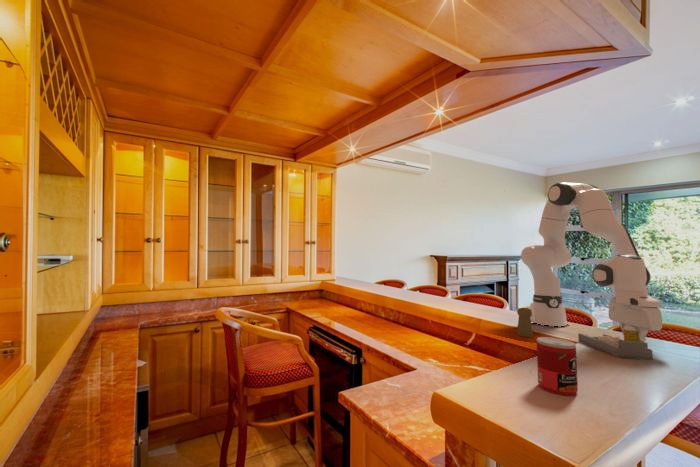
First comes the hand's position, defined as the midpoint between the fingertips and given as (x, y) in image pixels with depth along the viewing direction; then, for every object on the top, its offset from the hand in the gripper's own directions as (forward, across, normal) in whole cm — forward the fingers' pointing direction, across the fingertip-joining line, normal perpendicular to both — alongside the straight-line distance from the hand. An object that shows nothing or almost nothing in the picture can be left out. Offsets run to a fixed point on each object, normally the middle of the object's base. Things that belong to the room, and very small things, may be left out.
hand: (633, 338), depth 110 cm
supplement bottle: (+4, 0, 0) cm, 4 cm away
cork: (+4, -13, -32) cm, 34 cm away
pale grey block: (+4, +4, -10) cm, 11 cm away
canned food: (+4, +45, -48) cm, 66 cm away
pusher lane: (+4, +4, -10) cm, 11 cm away
